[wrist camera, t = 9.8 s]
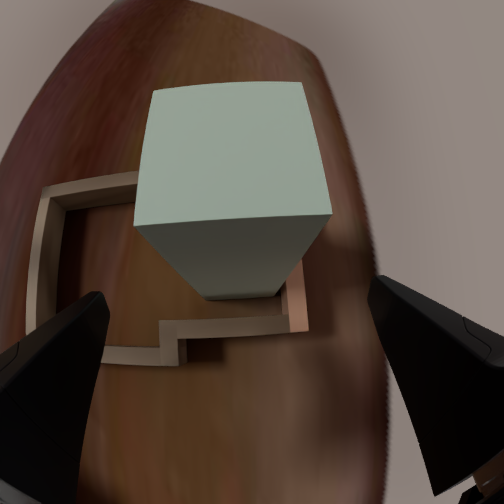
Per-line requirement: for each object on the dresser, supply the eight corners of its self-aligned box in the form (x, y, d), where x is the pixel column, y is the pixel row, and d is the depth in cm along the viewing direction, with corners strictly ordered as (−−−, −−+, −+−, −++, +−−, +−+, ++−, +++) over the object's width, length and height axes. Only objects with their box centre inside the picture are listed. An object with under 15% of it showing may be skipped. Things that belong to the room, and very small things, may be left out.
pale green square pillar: (273, 296, 18) (332, 214, 6) (205, 300, 18) (133, 225, 6) (268, 232, 19) (301, 82, 7) (203, 236, 19) (153, 90, 7)
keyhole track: (301, 355, 17) (310, 358, 14) (47, 353, 16) (26, 352, 14) (283, 179, 20) (288, 160, 18) (59, 201, 19) (43, 187, 17)
